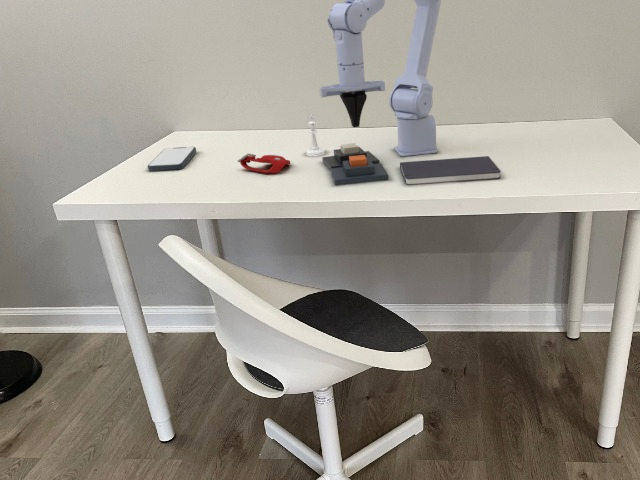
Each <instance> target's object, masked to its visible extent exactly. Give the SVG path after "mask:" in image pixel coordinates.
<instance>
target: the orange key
mask: <svg viewBox="0 0 640 480" xmlns="http://www.w3.org/2000/svg"><path fill="white" fill-rule="evenodd" d="M349 163H350V166H351V167H357V166H367V159H366V157H365V155H358V156H349Z"/></svg>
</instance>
